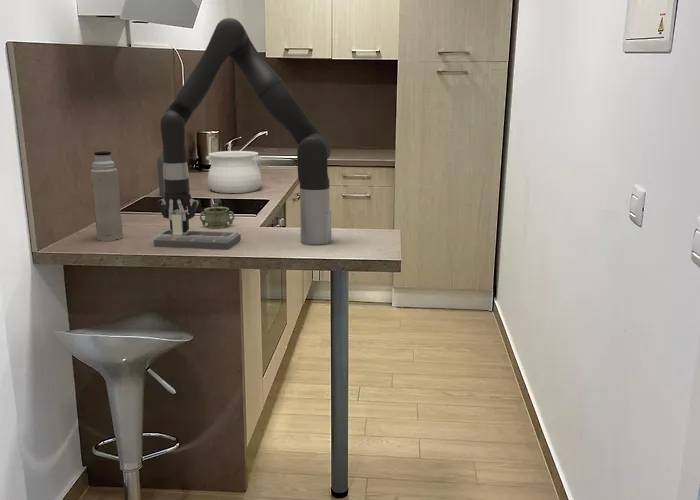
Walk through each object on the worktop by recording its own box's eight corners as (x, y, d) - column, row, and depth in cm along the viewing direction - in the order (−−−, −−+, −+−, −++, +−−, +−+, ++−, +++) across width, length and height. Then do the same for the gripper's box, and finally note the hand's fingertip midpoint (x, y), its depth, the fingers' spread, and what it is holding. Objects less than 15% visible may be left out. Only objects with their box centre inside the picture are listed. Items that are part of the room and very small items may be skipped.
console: (240, 240, 219) (240, 230, 219) (228, 249, 208) (227, 239, 207) (170, 237, 224) (169, 227, 223) (153, 246, 212) (153, 236, 211)
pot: (199, 194, 306) (197, 156, 302) (216, 185, 329) (214, 150, 325) (255, 195, 303) (254, 156, 299) (268, 186, 326) (267, 150, 322)
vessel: (235, 223, 245) (234, 206, 243) (234, 228, 236) (233, 210, 235) (201, 224, 244) (200, 206, 242) (198, 229, 235) (197, 211, 234)
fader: (187, 233, 218) (186, 212, 217) (181, 237, 214) (180, 215, 212) (178, 233, 219) (177, 212, 217) (172, 237, 214) (170, 215, 212)
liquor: (186, 197, 298) (182, 127, 290) (166, 199, 292) (161, 128, 285) (177, 194, 305) (173, 126, 297) (158, 196, 299) (153, 126, 292)
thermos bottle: (93, 241, 219) (84, 153, 212) (102, 235, 227) (94, 150, 220) (117, 241, 219) (110, 153, 212) (126, 235, 227) (119, 150, 220)
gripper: (202, 175, 214) (205, 229, 218) (160, 174, 216) (164, 228, 221) (193, 179, 207) (196, 235, 211) (149, 178, 209) (153, 233, 213)
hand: (179, 231), depth 216 cm, fingers closed on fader, 3 cm apart
